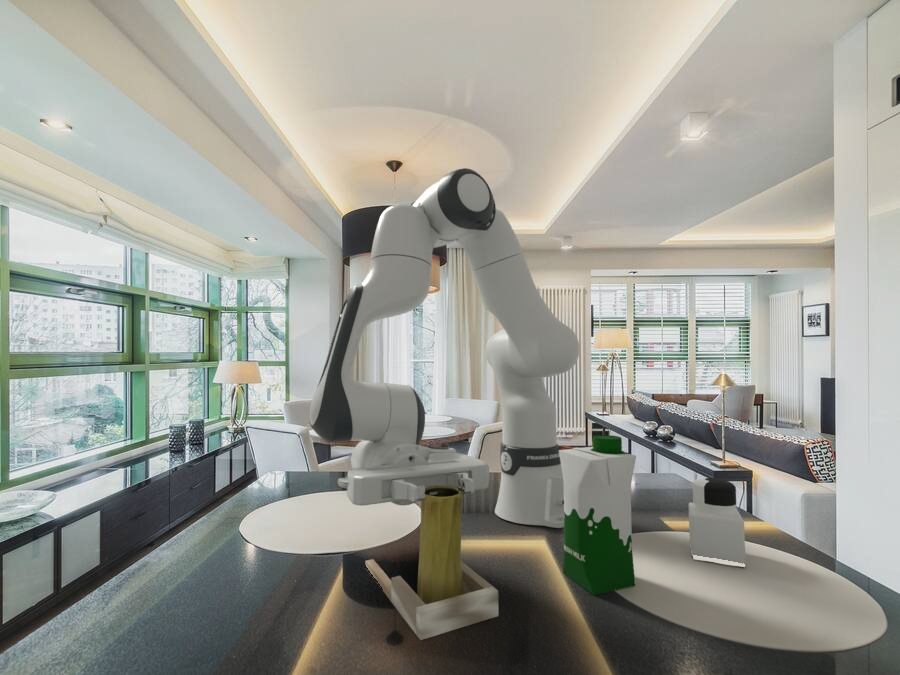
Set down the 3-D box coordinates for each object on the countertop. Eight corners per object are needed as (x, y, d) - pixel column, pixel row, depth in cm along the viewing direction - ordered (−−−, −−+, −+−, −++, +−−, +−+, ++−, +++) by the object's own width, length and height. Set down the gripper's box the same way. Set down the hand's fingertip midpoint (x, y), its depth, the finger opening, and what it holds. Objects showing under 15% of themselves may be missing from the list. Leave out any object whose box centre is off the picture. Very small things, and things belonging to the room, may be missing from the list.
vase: (455, 622, 54) (456, 500, 54) (408, 612, 56) (410, 495, 56) (469, 596, 60) (470, 487, 60) (426, 588, 61) (427, 482, 62)
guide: (427, 553, 73) (428, 534, 73) (498, 615, 55) (498, 590, 55) (365, 567, 68) (365, 547, 68) (420, 640, 50) (420, 612, 50)
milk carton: (645, 588, 62) (642, 440, 63) (592, 600, 59) (589, 445, 60) (601, 561, 70) (599, 432, 71) (552, 571, 67) (551, 435, 68)
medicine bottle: (738, 551, 74) (736, 477, 75) (746, 569, 68) (743, 488, 68) (689, 543, 77) (687, 472, 78) (692, 560, 71) (690, 482, 71)
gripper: (334, 457, 64) (364, 472, 52) (460, 447, 73) (510, 458, 61) (333, 503, 63) (364, 530, 51) (460, 487, 73) (512, 506, 60)
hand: (445, 490), depth 56 cm, fingers open, 6 cm apart
